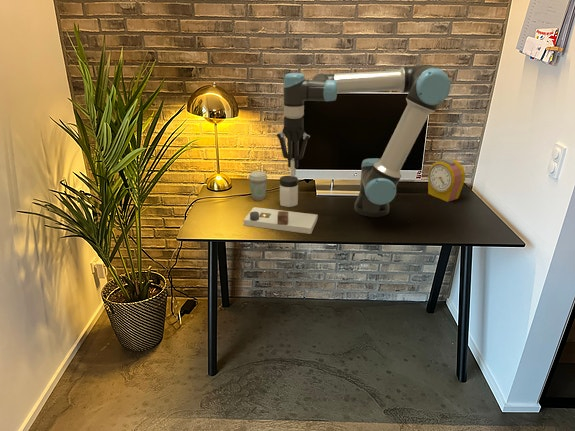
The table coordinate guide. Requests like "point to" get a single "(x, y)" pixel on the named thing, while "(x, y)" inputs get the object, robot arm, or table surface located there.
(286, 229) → the plate
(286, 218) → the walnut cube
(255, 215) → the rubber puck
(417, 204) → the table surface
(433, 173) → the alarm clock
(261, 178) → the coffee cup
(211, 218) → the table surface
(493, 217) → the table surface
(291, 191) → the jar
